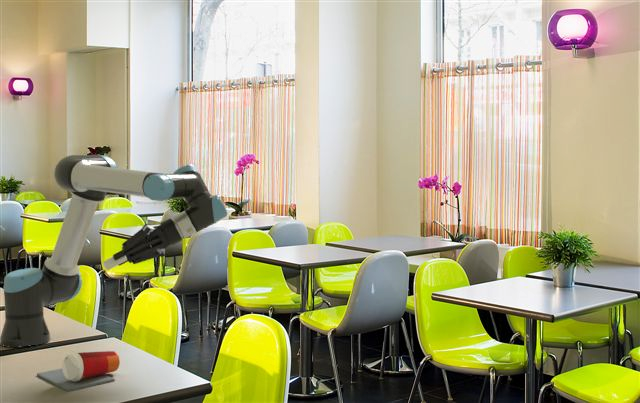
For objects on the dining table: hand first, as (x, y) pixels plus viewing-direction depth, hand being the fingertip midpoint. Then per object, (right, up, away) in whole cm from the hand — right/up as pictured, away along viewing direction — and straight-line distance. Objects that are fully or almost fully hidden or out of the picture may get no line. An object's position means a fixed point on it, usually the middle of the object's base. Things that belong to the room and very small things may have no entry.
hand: (105, 266), depth 227 cm
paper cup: (+6, -25, -13) cm, 29 cm away
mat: (-3, -29, -18) cm, 34 cm away
